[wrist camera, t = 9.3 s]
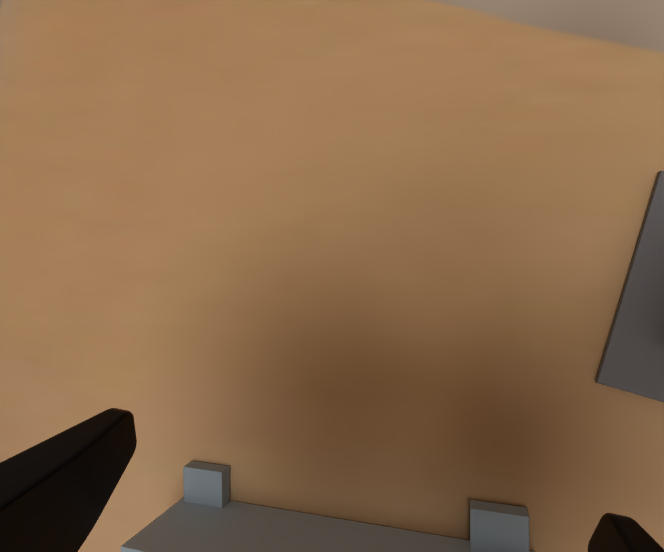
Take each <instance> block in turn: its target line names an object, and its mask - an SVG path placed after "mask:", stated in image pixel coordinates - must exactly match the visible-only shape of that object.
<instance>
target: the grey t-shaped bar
mask: <svg viewBox="0 0 664 552" xmlns="http://www.w3.org/2000/svg"><path fill="white" fill-rule="evenodd" d="M183 475H184V497H183V498H182V499H181V500H179V501H178V502H177V503H175V504H174V505H173V506H172V507H170V508H169V509H168V510H167V511H165V512H164V513H163V514H161V515H160V516H159V517H158V518H156V519H155V520H154V521H153V522H151V523H150V524H149V525H147V526H146V527H145V528H144V529H142V530H141V531H140V532H139V533H137V534H136V535H135V536H133V537H132V538H131V539H130V540H128V541H127V542H126V543H125V544H123V545H122V546H121V552H534V551H530V550H529V515H528V511H527V507H520V506H513V505H506V504H499V503H491V502H484V501H477V500H470V540H464V539H458V538H452V537H446V536H440V535H434V534H428V533H422V532H416V531H410V530H404V529H398V528H392V527H386V526H380V525H374V524H368V523H362V522H356V521H350V520H344V519H338V518H332V517H326V516H320V515H314V514H308V513H302V512H296V511H290V510H284V509H278V508H272V507H266V506H260V505H254V504H248V503H242V502H236V501H230V466H226V465H219V464H212V463H204V462H197V461H191V462H190V463H188V464H187V465H185V466H184V467H183Z"/></svg>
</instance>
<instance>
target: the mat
mask: <svg viewBox="0 0 664 552" xmlns="http://www.w3.org/2000/svg"><path fill="white" fill-rule="evenodd" d="M596 382H597V383H600V384H603V385H607V386H610V387H614V388H617V389H620V390H624V391H627V392H631V393H634V394H638V395H641V396H644V397H648V398H651V399H655V400H658V401H662V402H664V171H660V172H658V175H657V178H656V181H655V185H654V188H653V191H652V195H651V198H650V201H649V205H648V208H647V211H646V214H645V218H644V221H643V224H642V228H641V231H640V234H639V238H638V241H637V244H636V248H635V251H634V254H633V258H632V261H631V264H630V268H629V271H628V274H627V278H626V281H625V284H624V288H623V291H622V294H621V298H620V301H619V304H618V307H617V311H616V314H615V317H614V321H613V324H612V327H611V331H610V334H609V337H608V341H607V344H606V347H605V351H604V354H603V357H602V361H601V364H600V367H599V371H598V374H597V377H596Z"/></svg>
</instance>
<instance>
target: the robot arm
mask: <svg viewBox="0 0 664 552" xmlns="http://www.w3.org/2000/svg"><path fill="white" fill-rule="evenodd" d="M136 443H137V440H136V432H135V425H134V417H133V414H132V413H131V412H130V411H127V410H122V409H117V408H111V409H108V410H106V411H104V412H102V413H100V414H98V415H96V416H94V417H92V418H89V419H87V420H85V421H83V422H81V423H79V424H77V425H75V426H73V427H71V428H69V429H67V430H65V431H63V432H61V433H59V434H57V435H55V436H53V437H51V438H49V439H47V440H45V441H43V442H41V443H39V444H37V445H35V446H33V447H31V448H29V449H27V450H25V451H23V452H21V453H19V454H17V455H15V456H13V457H11V458H9V459H7V460H5V461H3V462H1V463H0V552H78V550H79V549H80V547H81V546H82V544H83V543H84V541H85V540H86V538H87V536H88V535H89V533H90V532H91V530H92V529H93V527H94V525H95V523H96V522H97V520H98V518H99V517H100V515H101V513H102V511H103V509H104V507H105V506H106V504H107V502H108V500H109V498H110V496H111V494H112V493H113V491H114V489H115V487H116V485H117V483H118V482H119V480H120V478H121V476H122V474H123V472H124V471H125V469H126V467H127V465H128V463H129V461H130V459H131V458H132V456H133V454H134V451H135V448H136ZM588 552H664V549H663V548H662V547H661V546H660V545H659V544H658V543H657V542H656V541H655V540H654V539H653V538H652V537H651V536H650V535H649V534H648V533H647V532H646V531H645V530H644V529H643V528H642V527H641V526H640V525H639V524H638V523H637V522H636V521H635V520H633V519H632V518H630V517H626V516H622V515H617V514H612V513H606V514H604V515H603V516H602V517H601V519H600V521H599V523H598V525H597V527H596V529H595V531H594V533H593V535H592V537H591V539H590V541H589V545H588Z"/></svg>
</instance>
